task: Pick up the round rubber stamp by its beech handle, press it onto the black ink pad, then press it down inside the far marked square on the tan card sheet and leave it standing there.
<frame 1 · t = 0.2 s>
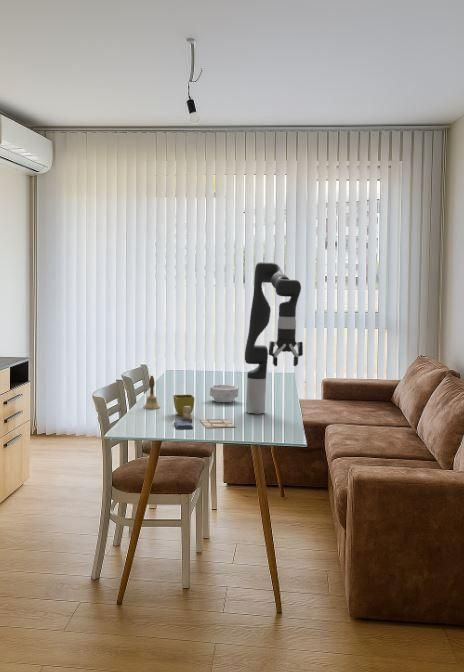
hand: (285, 365, 272), 29 cm above the table, tool pointing down, fingers open, 8 cm apart
ink pad: (183, 426, 282), on the table
sheet: (217, 423, 290), on the table
flower pot: (183, 415, 307), on the table
stamp: (186, 422, 291), on the table
hand bell: (151, 407, 323), on the table
stone bowl: (223, 401, 345), on the table
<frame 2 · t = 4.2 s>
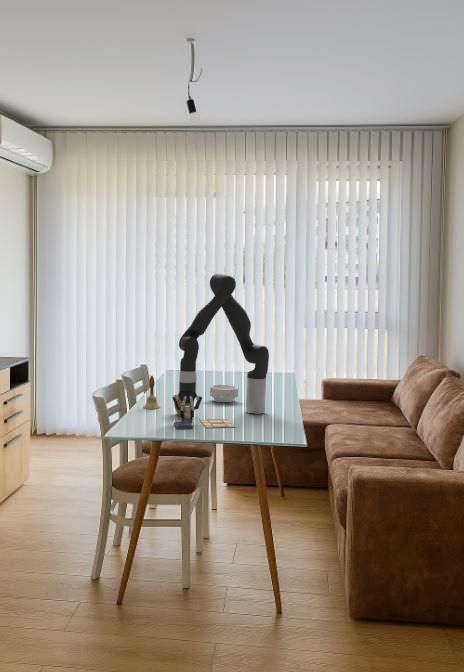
hand: (186, 418, 291), 2 cm above the table, tool pointing down, fingers closed on stamp, 3 cm apart
stamp: (186, 422, 291), on the table, touching gripper
everything else where it was.
when the fingers open (2 cm above the table, at t = 14.6 s): stamp stays where it is, resting on sheet.
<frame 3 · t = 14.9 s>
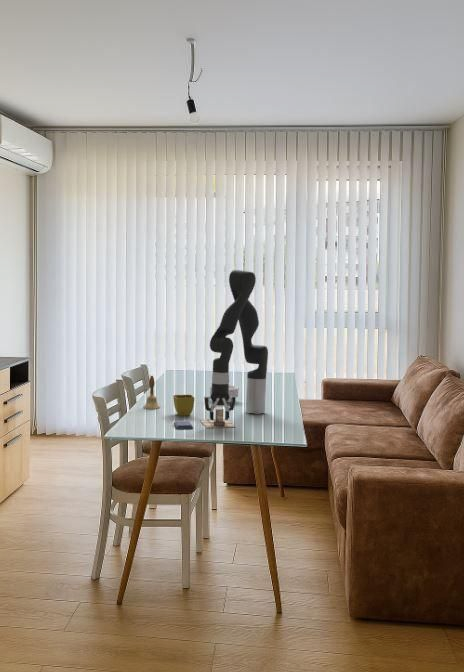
hand: (219, 419, 285), 3 cm above the table, tool pointing down, fingers open, 6 cm apart
stamp: (219, 425, 286), resting on sheet
everything else where it was.
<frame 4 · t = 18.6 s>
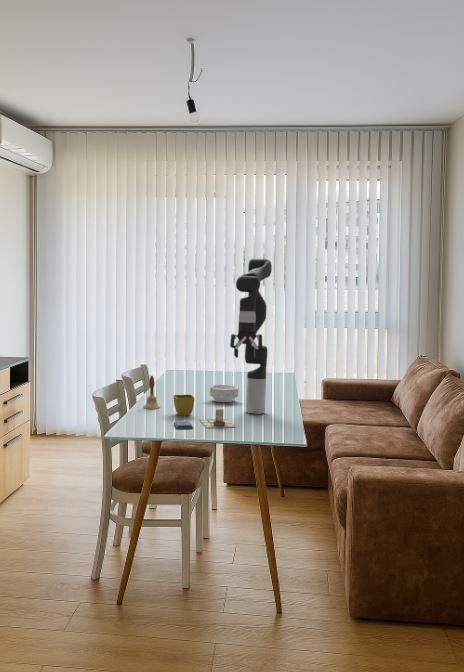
hand: (245, 357, 289), 30 cm above the table, tool pointing down, fingers open, 8 cm apart
nothing on the table moved.
at the end: stamp inside the target area on the sheet (0.0 cm from its centre), point 0.4 cm above the sheet's base; stamp tilted 0°; the gripper is holding nothing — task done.
